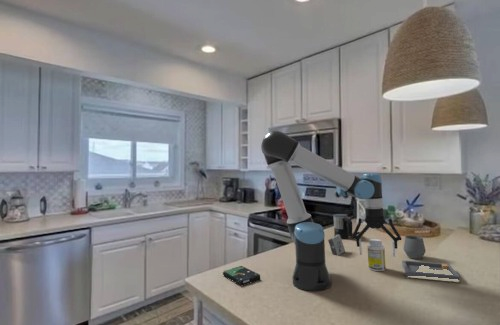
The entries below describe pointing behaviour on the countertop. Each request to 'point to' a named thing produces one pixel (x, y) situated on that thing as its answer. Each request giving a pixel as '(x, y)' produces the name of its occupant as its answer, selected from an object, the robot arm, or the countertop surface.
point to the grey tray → (413, 266)
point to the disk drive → (241, 275)
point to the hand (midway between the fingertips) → (377, 254)
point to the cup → (414, 247)
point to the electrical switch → (336, 245)
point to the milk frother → (342, 226)
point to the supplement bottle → (376, 255)
